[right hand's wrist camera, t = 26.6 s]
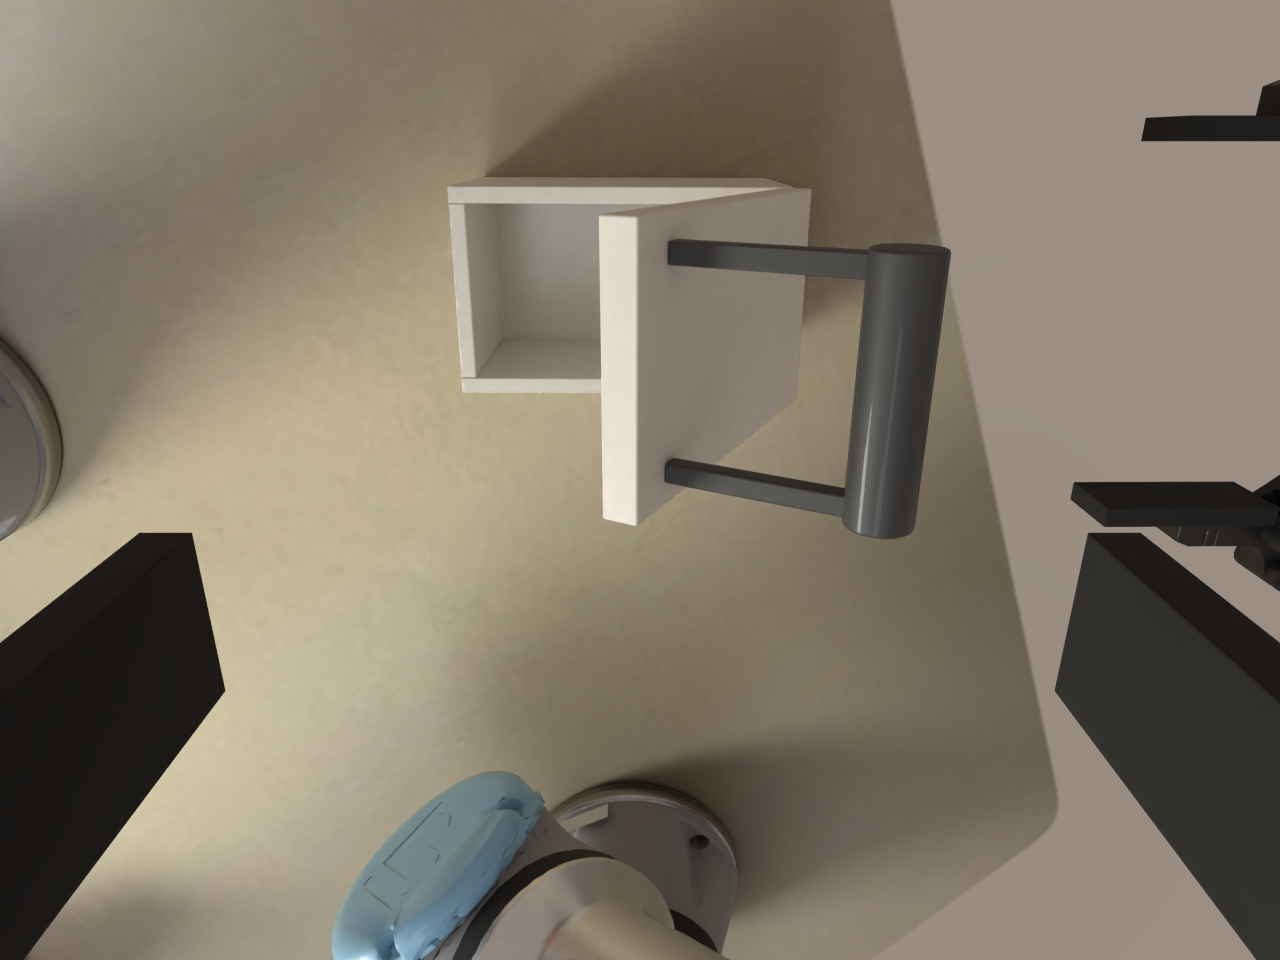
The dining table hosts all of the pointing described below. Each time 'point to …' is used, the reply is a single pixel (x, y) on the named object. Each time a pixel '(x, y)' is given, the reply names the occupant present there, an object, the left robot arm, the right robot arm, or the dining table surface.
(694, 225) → the lid
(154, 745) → the right robot arm
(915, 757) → the dining table surface
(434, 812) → the left robot arm
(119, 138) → the dining table surface
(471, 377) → the chest
